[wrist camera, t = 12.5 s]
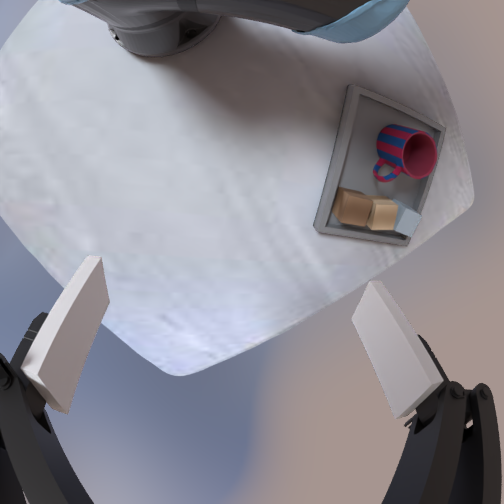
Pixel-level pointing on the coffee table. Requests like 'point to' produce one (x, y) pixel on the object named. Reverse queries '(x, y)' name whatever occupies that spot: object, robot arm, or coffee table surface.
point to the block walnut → (351, 206)
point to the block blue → (406, 219)
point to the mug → (405, 152)
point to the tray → (372, 162)
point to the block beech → (382, 213)
